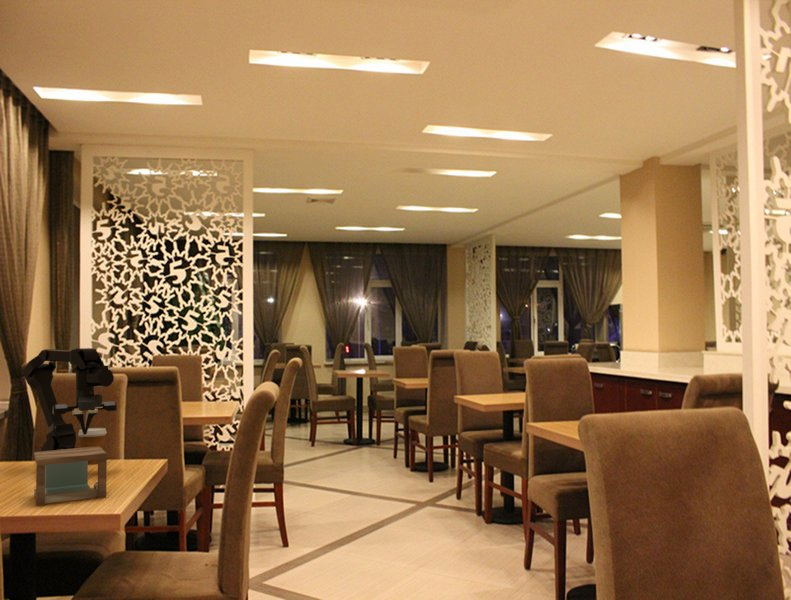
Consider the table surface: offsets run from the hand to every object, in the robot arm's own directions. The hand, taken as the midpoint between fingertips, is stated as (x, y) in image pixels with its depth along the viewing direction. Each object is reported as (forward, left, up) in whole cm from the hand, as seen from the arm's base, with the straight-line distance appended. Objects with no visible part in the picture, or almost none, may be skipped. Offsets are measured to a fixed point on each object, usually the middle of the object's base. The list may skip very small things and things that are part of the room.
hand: (84, 434), depth 217 cm
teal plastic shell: (+9, -28, -13) cm, 33 cm away
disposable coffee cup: (-8, +22, -13) cm, 27 cm away
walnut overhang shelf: (+11, -31, -13) cm, 36 cm away
